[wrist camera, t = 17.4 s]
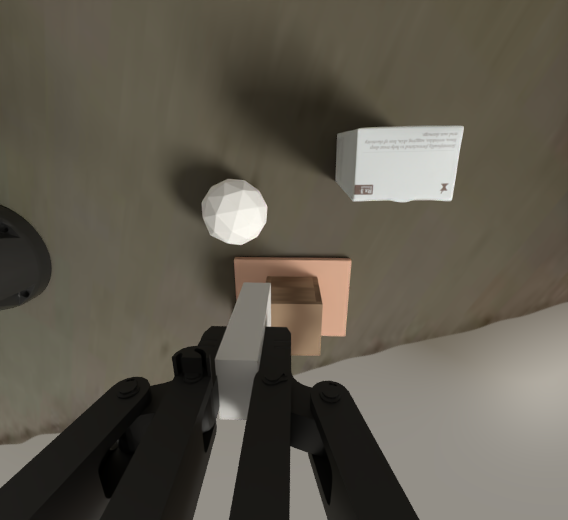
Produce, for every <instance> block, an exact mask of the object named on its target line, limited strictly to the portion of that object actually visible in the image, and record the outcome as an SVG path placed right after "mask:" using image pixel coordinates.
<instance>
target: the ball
mask: <svg viewBox="0 0 568 520" xmlns="http://www.w3.org/2000/svg"><path fill="white" fill-rule="evenodd" d="M202 215H203V220H204V222H205V224H206V226H207V229H208V231H209V233H210V235H211V236H213V237H215V238H217V239H219V240H221V241H223V242H225V243H228V244H237V245H243V244H244V243H246V242H248V241H250V240H252V239H254V238H256V237H258V235H259V233H260V232H261V230H262V228H263V227H264V225H265V223H266V219H267V205H266V203H265V201H264V199H263V197H262V195H261V193H260V192H259V190H258V189H256V188H255V187H253V186H252V185H250V184H249V183H248V182H246V181H245V180H236V179H227V180H224V181H222V182H220V183H218V184H216V185H214V186H212V187H211V188H210V189H209V191H208V193H207V194H206V196H205V198H204V199H203V201H202Z"/></svg>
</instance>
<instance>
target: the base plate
mask: <svg viewBox="0 0 568 520" xmlns="http://www.w3.org/2000/svg"><path fill="white" fill-rule="evenodd" d="M234 268H235V285H236V302H237V299H238V296H239V294H240V291H241V288H242V286H243V283H244V282H249V283H266V278H267V276H287V277H317V278H318V283H319V288H320V293H321V298H322V304H323V308H322V328H321V336H345V332H346V320H347V308H348V296H349V283H350V271H351V259H350V258H279V257H235V259H234Z"/></svg>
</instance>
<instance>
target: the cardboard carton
mask: <svg viewBox="0 0 568 520" xmlns="http://www.w3.org/2000/svg"><path fill="white" fill-rule="evenodd" d="M266 283H271V327H287V328H288V329H289V331H290V332H291V355H308V356H320V348H321V328H322V308H323V304H322V298H321V293H320V288H319V283H318V278H317V277H287V276H267V278H266Z"/></svg>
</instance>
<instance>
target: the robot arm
mask: <svg viewBox="0 0 568 520" xmlns="http://www.w3.org/2000/svg"><path fill="white" fill-rule="evenodd" d="M50 277H51V260H50V256H49V252H48V250H47V247H46V245H45V243H44V242H43V240H42V238H41V237H40V235H39V234H38V233H37V231H36V230H35V229H34V228H33V227H32V226H31V225H30V224H29V223H28V222H27V221H26V220H25V219H23V218H22V217H21V216H19V215H18V214H16V213H15V212H13V211H11V210H9V209H7V208H5V207H2V206H0V310H5V309H10V308H14V307H17V306H20V305H22V304H24V303H26V302H28V301H30V300H32V299H33V298H35V297H37V296H38V295H40V294H41V293H42V292H43V291H44V290H45V288H46V287H47V285H48V283H49V280H50ZM172 361H173V368H174V375H175V377H174V379H173V380H172V381H170V382H166V383H163V384H158V385H153V386H150V383H149V382H148V380H147V379H145V378H143V377H132V378H127V379H125V380H122V381H120V382H118V383H117V384H115V385H114V386H113V387H111V388H110V389H109V390H108V391H107V392H106V393H105V394H104V395H103V396H102V397H100V398H99V399H98V400H97V401H96V402H95V403H94V404H93V405H92V406H91V407H89V408H88V409H87V410H86V411H85V412H84V413H83V414H82V415H81V416H79V417H78V418H77V419H76V420H75V421H74V422H73V423H72V424H71V425H70V426H68V427H67V428H66V429H65V430H64V431H63V432H62V433H61V434H60V435H59V436H57V437H56V438H55V439H54V440H53V441H52V442H51V443H50V444H49V445H48V446H46V447H45V448H44V449H43V450H42V451H41V452H40V453H39V454H38V455H36V456H35V457H34V458H33V459H32V460H31V461H30V462H29V463H28V464H27V465H25V466H24V467H23V468H22V469H21V470H20V471H19V472H18V473H17V474H16V475H14V476H13V477H12V478H11V479H10V480H9V481H8V482H7V483H6V484H5V485H3V486H2V487H1V488H0V520H193V517H194V513H195V509H196V506H197V501H198V498H199V494H200V491H201V487H202V483H203V479H204V476H205V472H206V469H207V465H208V461H209V458H210V454H211V450H212V446H213V442H214V439H215V435H216V429H217V425H216V418H217V414H218V411H219V414H220V419H235V420H247V421H246V426H245V432H244V438H243V444H242V449H241V455H240V460H239V466H238V472H237V478H236V483H235V489H234V495H233V501H232V506H231V511H230V517H229V520H289V504H290V503H289V501H290V446H292V447H294V448H297V449H300V450H302V451H305V452H308V456H309V459H310V463H311V466H312V469H313V473H314V476H315V479H316V482H317V486H318V489H319V492H320V495H321V499H322V502H323V505H324V509H325V512H326V515H327V519H328V520H419V518H418V517H417V515H416V513H415V511H414V509H413V507H412V505H411V504H410V502H409V500H408V498H407V497H406V495H405V493H404V491H403V489H402V487H401V486H400V484H399V482H398V480H397V478H396V476H395V475H394V473H393V471H392V469H391V467H390V466H389V464H388V462H387V460H386V458H385V456H384V455H383V453H382V451H381V449H380V448H379V446H378V444H377V442H376V440H375V438H374V437H373V435H372V433H371V431H370V429H369V427H368V426H367V424H366V422H365V420H364V419H363V417H362V415H361V413H360V411H359V409H358V408H357V406H356V404H355V402H354V400H353V398H352V397H351V395H350V393H349V391H348V390H347V389H346V388H345V387H344V386H343V385H341V384H339V383H337V382H333V381H322V382H319V383H317V384H316V385H314V386H313V387H312V388H311V387H308V386H305V385H302V384H300V383H299V382H297V381H296V380H295V379H294V378H293V376H292V373H291V332H290V331H289V329H288V328H287V327H271V283H249V282H244V283H243V286H242V288H241V291H240V294H239V296H238V299H237V302H236V304H235V307H234V310H233V312H232V315H231V318H230V320H229V323H228V326H227V327H226V326H211V327H210V328H209V329H208V330H207V331H205V332H204V334H203V336H202V338H201V341H200V342H199V344H198V346H191V347H187V348H184V349H181V350H180V351H178V352H176V353H175V354H174V355H173V357H172Z"/></svg>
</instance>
